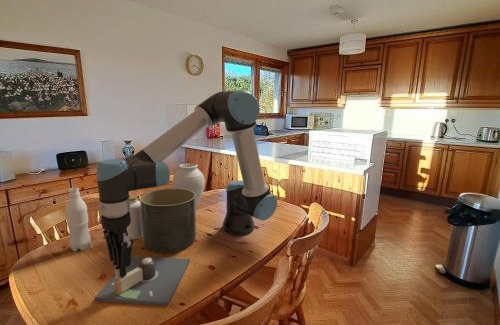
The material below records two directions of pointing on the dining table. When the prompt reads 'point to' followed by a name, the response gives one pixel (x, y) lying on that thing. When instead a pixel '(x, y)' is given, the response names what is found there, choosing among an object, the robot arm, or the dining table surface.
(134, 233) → the potion bottle
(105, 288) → the dial board
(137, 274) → the peg lever
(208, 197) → the dining table surface
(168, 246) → the planter
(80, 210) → the water bottle
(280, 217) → the dining table surface
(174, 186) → the vase
